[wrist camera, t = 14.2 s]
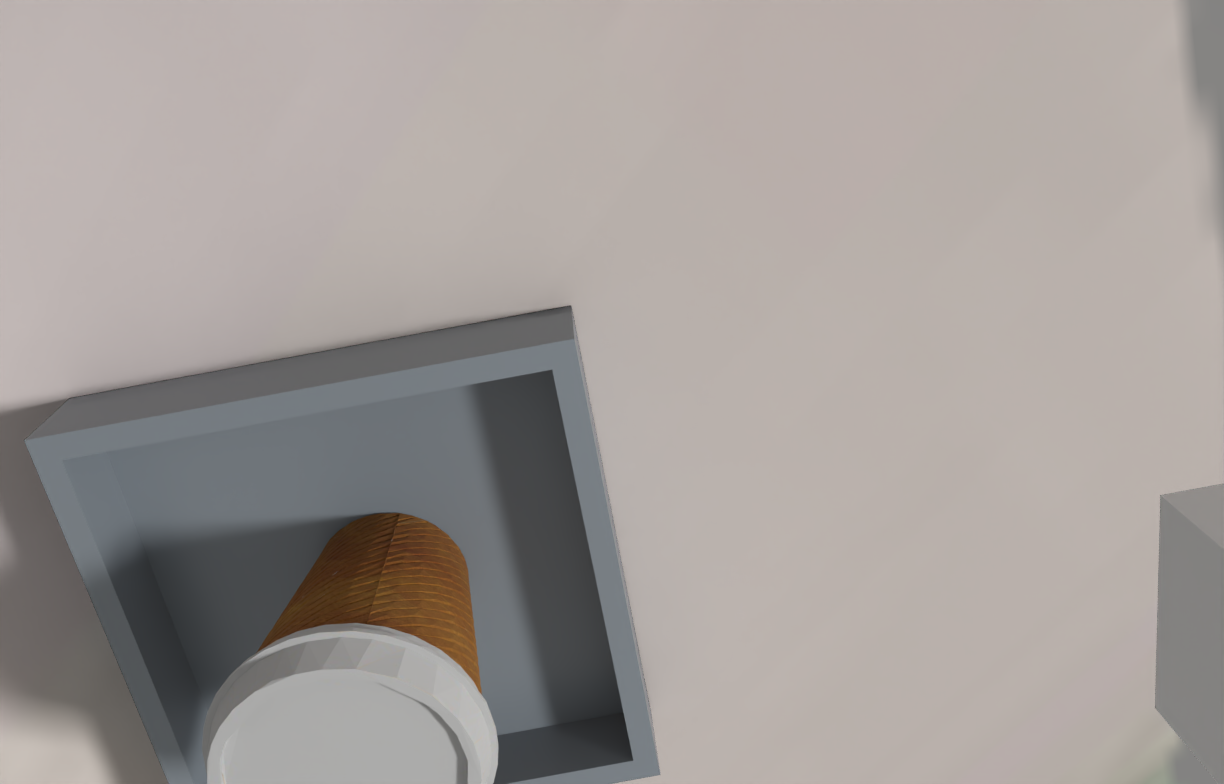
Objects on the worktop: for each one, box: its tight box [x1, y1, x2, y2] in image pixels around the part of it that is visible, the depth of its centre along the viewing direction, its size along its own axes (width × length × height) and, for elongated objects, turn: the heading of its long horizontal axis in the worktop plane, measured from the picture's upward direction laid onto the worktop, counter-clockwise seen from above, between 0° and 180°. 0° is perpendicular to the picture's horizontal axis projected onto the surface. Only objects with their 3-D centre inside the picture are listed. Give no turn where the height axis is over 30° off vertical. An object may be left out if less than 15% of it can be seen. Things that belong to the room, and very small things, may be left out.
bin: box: [24, 306, 660, 784], centre depth 44 cm, size 20×20×4 cm
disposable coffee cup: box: [202, 513, 498, 784], centre depth 39 cm, size 10×10×12 cm
